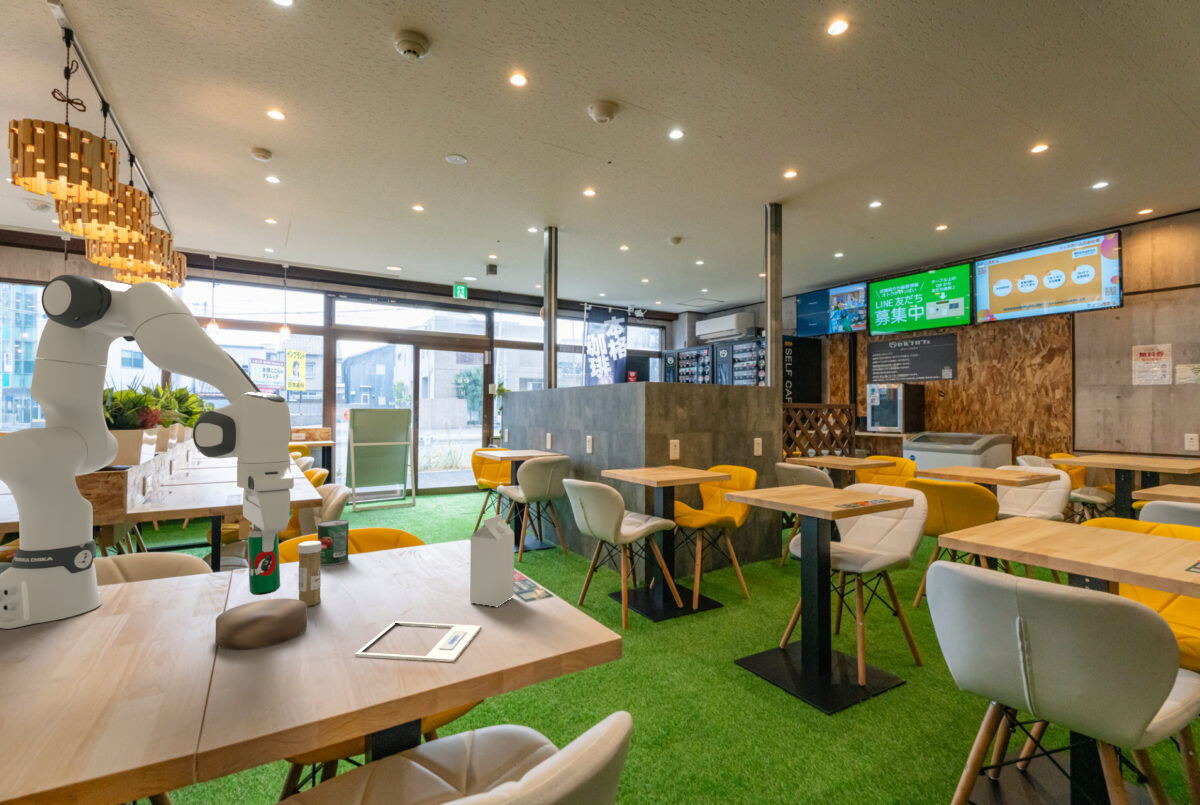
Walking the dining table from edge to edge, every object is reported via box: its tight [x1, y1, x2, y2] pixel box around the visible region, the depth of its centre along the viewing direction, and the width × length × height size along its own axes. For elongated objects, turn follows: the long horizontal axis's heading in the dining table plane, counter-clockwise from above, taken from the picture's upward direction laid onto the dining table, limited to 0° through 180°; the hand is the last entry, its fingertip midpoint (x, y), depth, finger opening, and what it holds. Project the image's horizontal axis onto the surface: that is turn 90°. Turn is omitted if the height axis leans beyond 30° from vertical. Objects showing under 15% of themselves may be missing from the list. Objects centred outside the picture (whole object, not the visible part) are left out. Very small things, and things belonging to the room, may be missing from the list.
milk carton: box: [469, 513, 515, 607], centre depth 126 cm, size 7×7×19 cm
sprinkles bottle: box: [297, 540, 322, 607], centre depth 123 cm, size 5×5×14 cm
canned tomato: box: [317, 519, 350, 566], centre depth 156 cm, size 8×8×11 cm
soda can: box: [247, 528, 281, 596], centre depth 107 cm, size 5×5×12 cm
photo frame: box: [354, 621, 482, 661], centre depth 104 cm, size 15×1×18 cm
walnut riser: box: [215, 598, 308, 651], centre depth 107 cm, size 15×15×4 cm
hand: (263, 547), depth 107 cm, fingers closed on soda can, 5 cm apart
